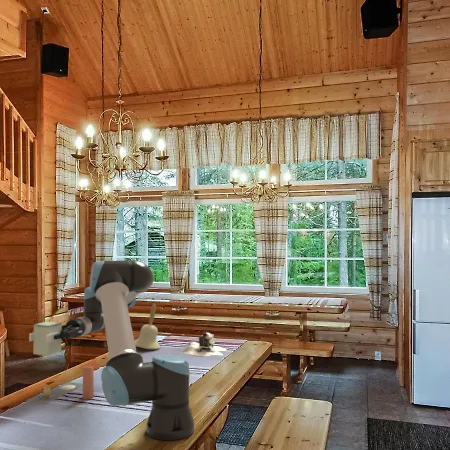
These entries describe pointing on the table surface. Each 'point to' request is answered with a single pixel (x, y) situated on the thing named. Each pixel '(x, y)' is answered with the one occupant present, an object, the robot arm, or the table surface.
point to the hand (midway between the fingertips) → (38, 338)
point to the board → (55, 392)
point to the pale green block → (40, 338)
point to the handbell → (148, 334)
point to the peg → (88, 382)
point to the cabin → (203, 346)
